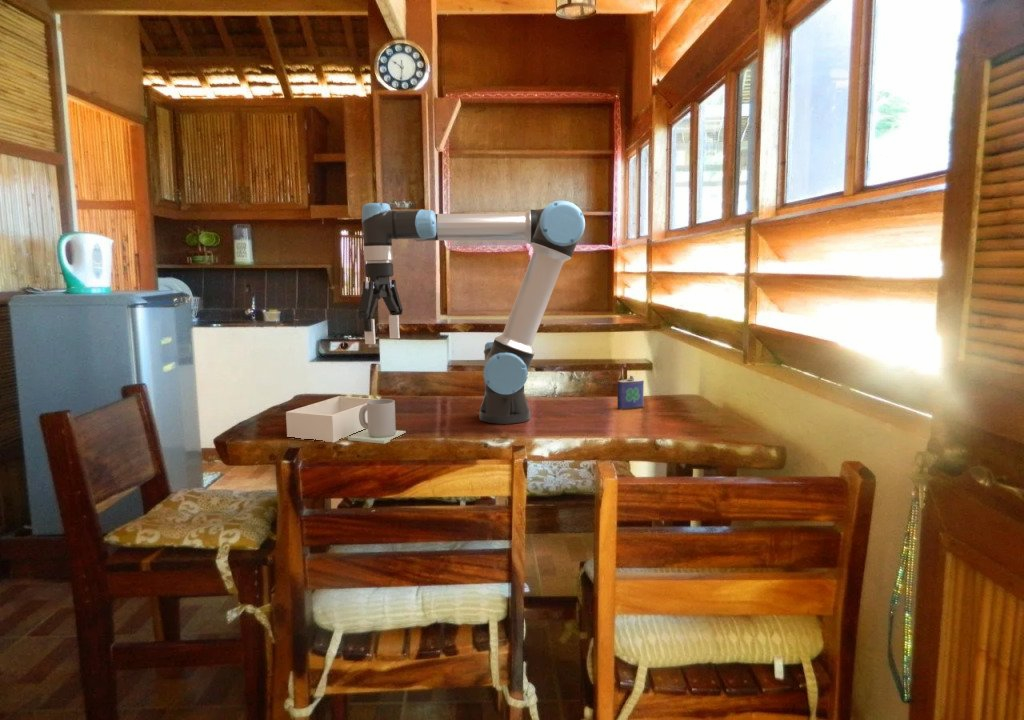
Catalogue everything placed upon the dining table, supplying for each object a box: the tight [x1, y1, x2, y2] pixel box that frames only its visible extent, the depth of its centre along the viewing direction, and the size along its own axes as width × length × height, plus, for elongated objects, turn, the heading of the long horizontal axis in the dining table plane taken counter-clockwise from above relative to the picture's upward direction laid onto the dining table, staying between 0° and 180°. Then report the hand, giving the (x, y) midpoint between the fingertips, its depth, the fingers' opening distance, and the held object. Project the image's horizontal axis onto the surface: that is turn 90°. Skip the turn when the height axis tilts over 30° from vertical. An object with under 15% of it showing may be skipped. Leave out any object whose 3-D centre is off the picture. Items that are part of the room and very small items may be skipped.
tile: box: [347, 429, 407, 445], centre depth 182 cm, size 11×11×1 cm
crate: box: [285, 395, 377, 443], centre depth 190 cm, size 15×24×7 cm, turn 159°
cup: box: [359, 398, 397, 438], centre depth 181 cm, size 7×10×9 cm
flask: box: [617, 374, 645, 411], centre depth 216 cm, size 9×3×11 cm, turn 112°
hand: (383, 341), depth 186 cm, fingers open, 13 cm apart
